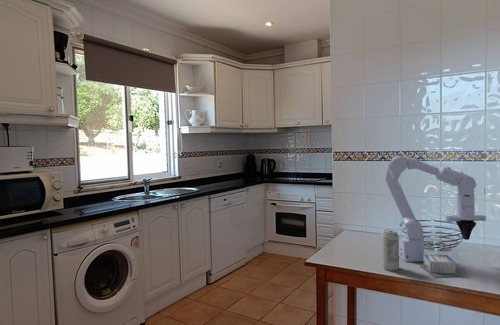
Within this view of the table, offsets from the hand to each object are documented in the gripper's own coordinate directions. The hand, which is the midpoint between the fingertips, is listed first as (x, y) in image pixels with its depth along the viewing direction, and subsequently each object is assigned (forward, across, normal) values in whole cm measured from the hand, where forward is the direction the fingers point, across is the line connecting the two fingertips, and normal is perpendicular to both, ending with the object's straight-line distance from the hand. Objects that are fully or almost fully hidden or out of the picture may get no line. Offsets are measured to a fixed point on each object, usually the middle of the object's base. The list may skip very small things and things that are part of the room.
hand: (465, 238), depth 129 cm
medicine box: (+7, -9, -7) cm, 14 cm away
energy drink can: (+10, -31, -3) cm, 33 cm away
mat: (+10, -14, -7) cm, 19 cm away
